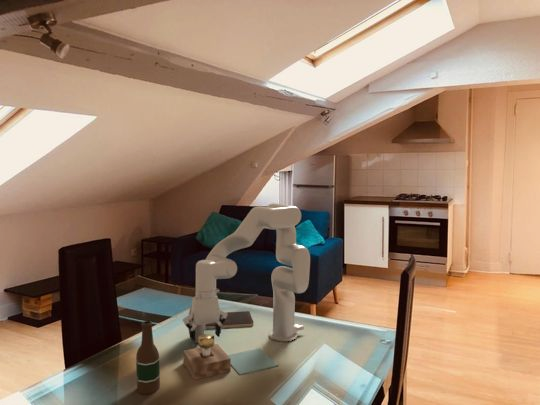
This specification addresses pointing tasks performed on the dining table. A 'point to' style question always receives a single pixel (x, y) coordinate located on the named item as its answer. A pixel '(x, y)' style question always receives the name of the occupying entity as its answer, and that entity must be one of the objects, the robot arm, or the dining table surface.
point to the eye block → (206, 362)
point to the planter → (197, 329)
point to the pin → (206, 343)
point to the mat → (251, 361)
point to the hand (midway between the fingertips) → (205, 337)
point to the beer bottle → (147, 362)
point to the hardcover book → (234, 320)
